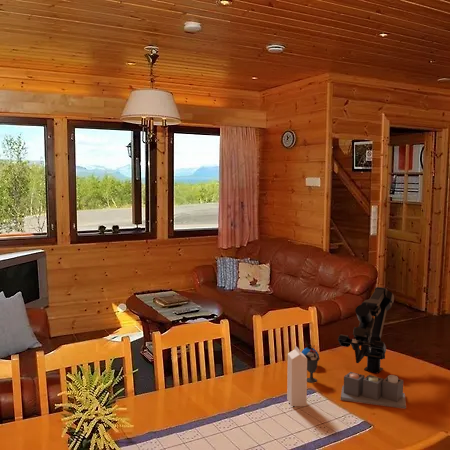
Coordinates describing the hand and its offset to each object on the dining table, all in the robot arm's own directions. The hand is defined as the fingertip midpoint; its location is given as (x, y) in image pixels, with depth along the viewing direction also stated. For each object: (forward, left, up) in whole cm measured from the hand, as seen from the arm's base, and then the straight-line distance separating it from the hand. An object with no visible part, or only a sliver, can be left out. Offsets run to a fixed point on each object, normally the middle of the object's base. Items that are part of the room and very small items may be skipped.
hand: (357, 362), depth 194 cm
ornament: (-12, -29, -13) cm, 34 cm away
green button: (+2, +8, -8) cm, 11 cm away
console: (+1, +7, -12) cm, 14 cm away
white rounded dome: (-2, +14, -7) cm, 16 cm away
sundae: (+2, -20, -12) cm, 23 cm away
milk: (+24, -14, -12) cm, 30 cm away
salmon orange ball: (+3, 0, -8) cm, 9 cm away
